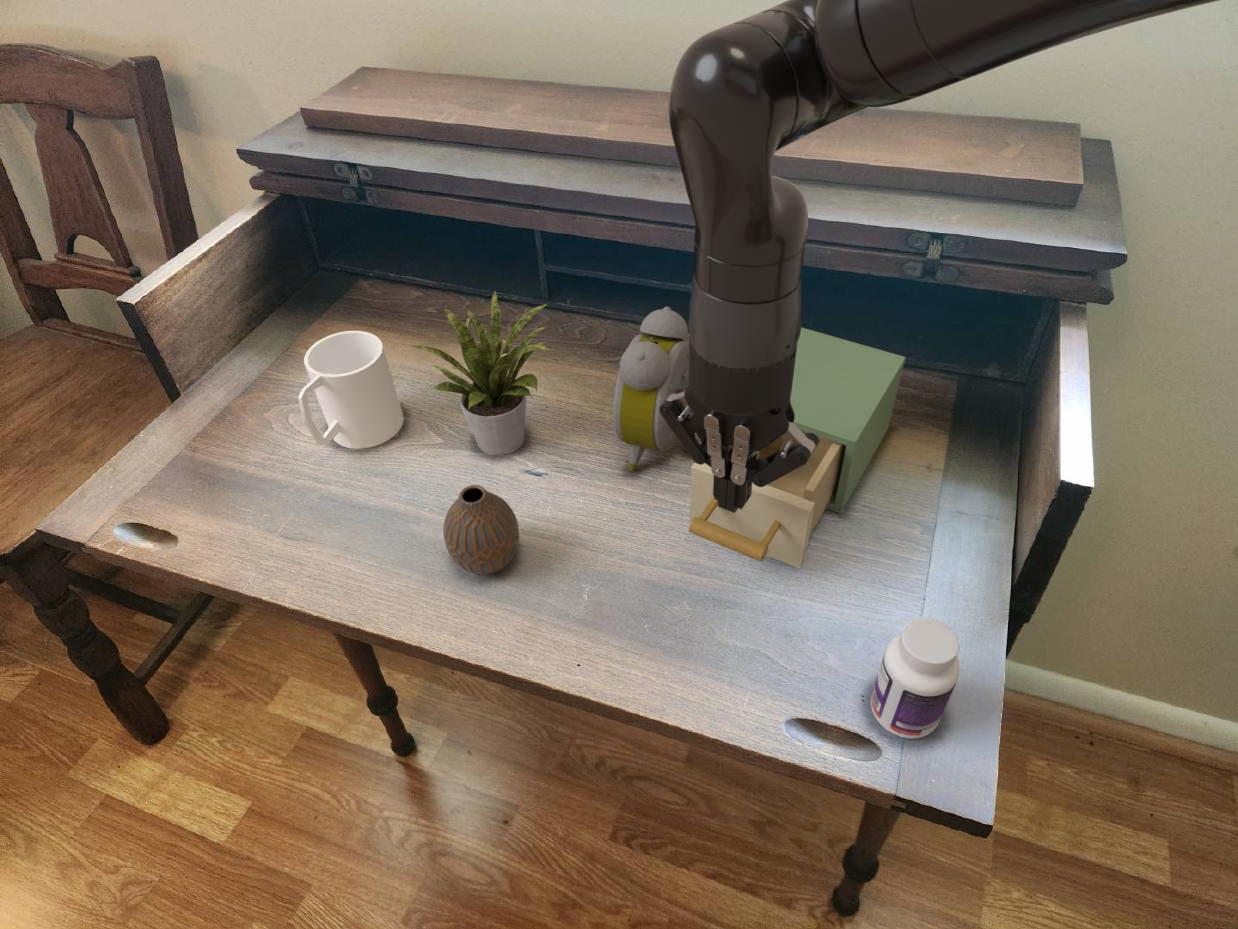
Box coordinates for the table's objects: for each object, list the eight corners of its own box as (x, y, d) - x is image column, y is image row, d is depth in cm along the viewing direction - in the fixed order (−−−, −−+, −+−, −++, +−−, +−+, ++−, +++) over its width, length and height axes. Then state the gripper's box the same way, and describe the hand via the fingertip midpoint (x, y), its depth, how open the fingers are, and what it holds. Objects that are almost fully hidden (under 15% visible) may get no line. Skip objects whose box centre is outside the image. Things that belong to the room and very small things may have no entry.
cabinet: (840, 514, 82) (856, 442, 75) (725, 470, 87) (730, 400, 80) (888, 428, 91) (905, 356, 84) (781, 393, 96) (789, 323, 89)
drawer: (780, 604, 73) (788, 547, 68) (667, 555, 78) (666, 498, 72) (851, 478, 84) (864, 420, 79) (748, 441, 89) (753, 384, 83)
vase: (498, 519, 83) (484, 456, 77) (537, 560, 79) (526, 497, 73) (438, 554, 80) (419, 491, 74) (475, 598, 76) (458, 535, 70)
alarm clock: (650, 406, 95) (647, 293, 85) (707, 418, 93) (712, 303, 83) (614, 474, 87) (606, 359, 77) (676, 488, 85) (677, 372, 75)
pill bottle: (953, 711, 66) (985, 641, 59) (913, 754, 64) (941, 686, 57) (895, 667, 69) (920, 597, 62) (855, 707, 67) (876, 638, 60)
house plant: (596, 413, 94) (587, 289, 83) (545, 496, 85) (526, 369, 74) (486, 388, 99) (462, 267, 87) (425, 465, 89) (390, 340, 78)
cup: (293, 460, 91) (262, 388, 84) (359, 395, 99) (336, 324, 92) (354, 479, 88) (327, 406, 81) (417, 410, 96) (397, 339, 89)
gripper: (633, 334, 58) (640, 504, 70) (813, 390, 53) (787, 564, 65) (684, 282, 62) (683, 451, 74) (854, 329, 57) (823, 503, 69)
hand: (731, 503), depth 69 cm, fingers closed
